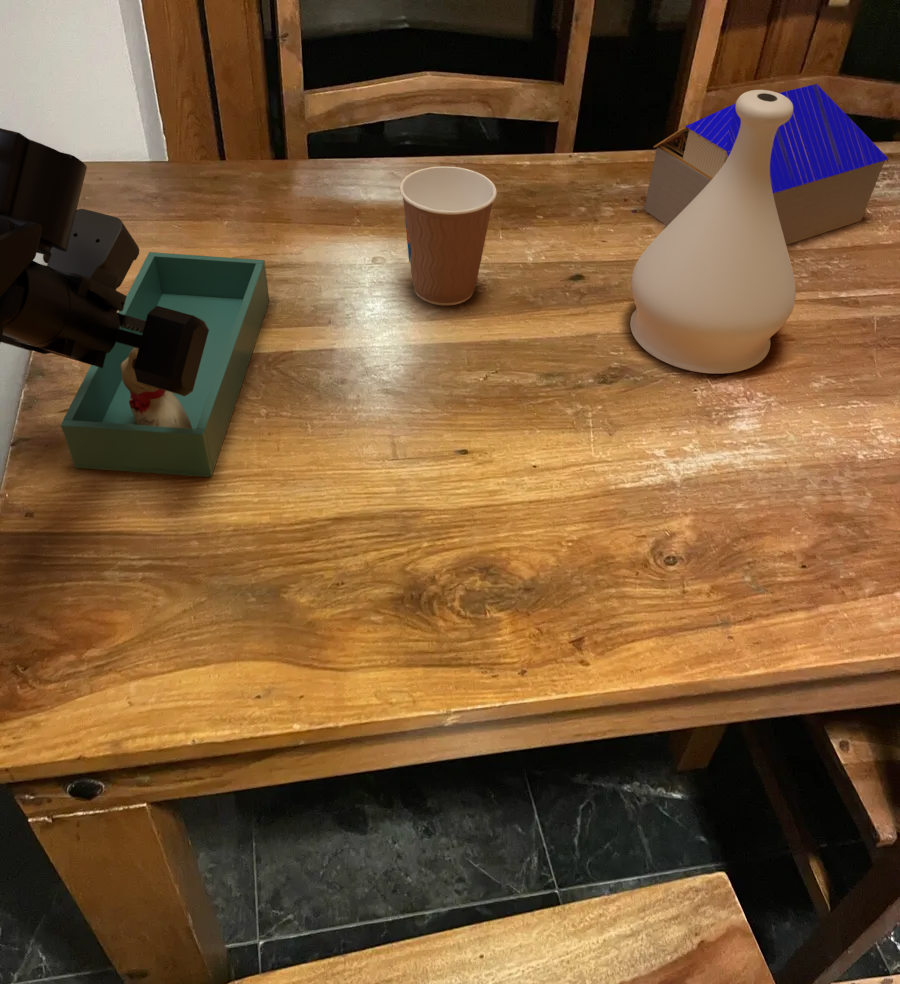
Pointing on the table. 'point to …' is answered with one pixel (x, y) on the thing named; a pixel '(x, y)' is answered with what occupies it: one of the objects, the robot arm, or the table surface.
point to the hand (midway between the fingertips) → (149, 352)
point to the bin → (230, 342)
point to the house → (777, 165)
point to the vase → (721, 260)
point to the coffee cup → (446, 230)
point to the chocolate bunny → (152, 400)
